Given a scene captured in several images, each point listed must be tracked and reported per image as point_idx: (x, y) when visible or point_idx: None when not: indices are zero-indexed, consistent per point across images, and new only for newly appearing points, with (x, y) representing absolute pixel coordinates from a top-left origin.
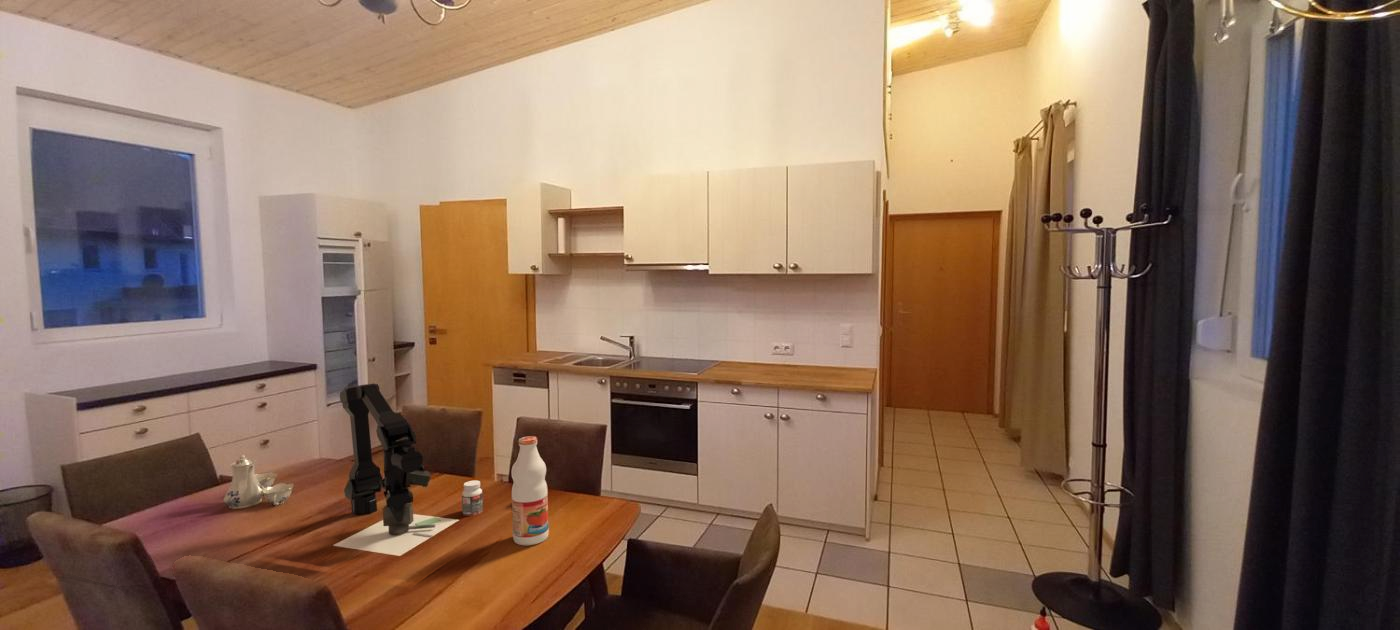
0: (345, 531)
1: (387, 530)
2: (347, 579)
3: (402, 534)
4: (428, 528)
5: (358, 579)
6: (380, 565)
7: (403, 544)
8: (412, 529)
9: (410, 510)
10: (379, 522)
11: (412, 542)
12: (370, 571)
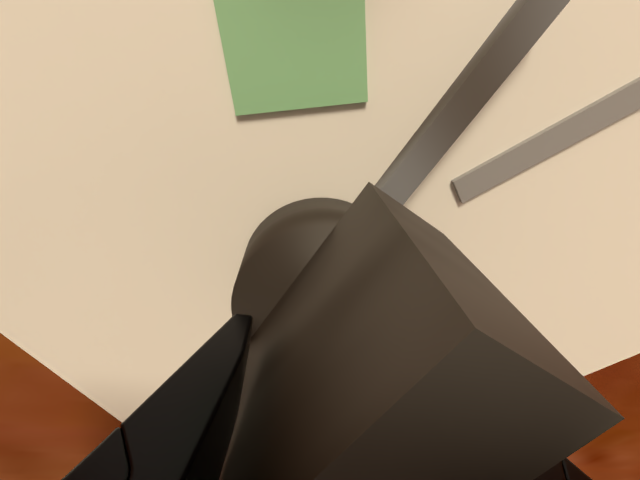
0: (31, 447)
1: (226, 317)
2: (591, 477)
3: None
4: (453, 37)
5: (634, 455)
6: (610, 390)
7: (560, 290)
8: (349, 170)
9: (523, 323)
10: (12, 329)
11: (591, 238)
12: (619, 422)
